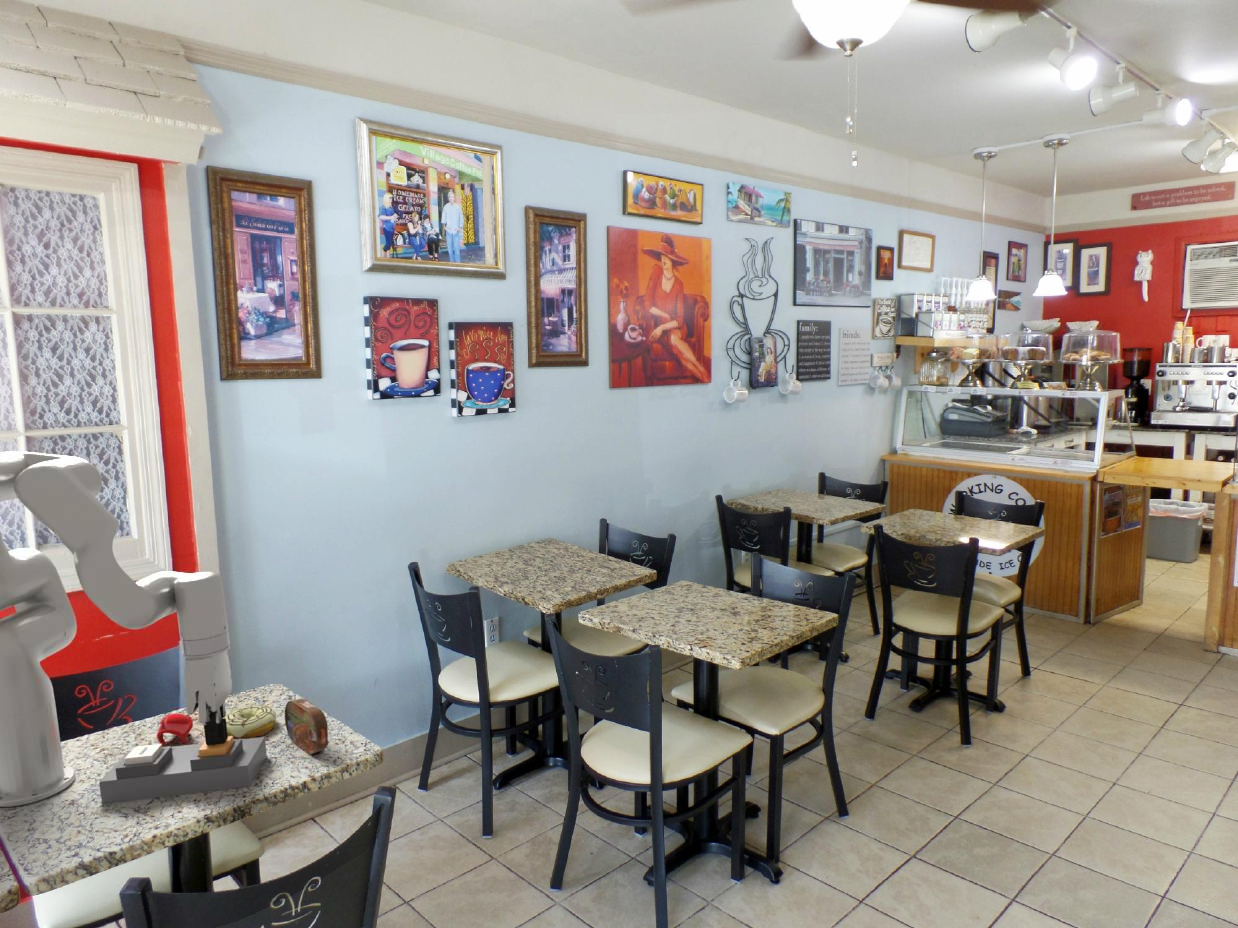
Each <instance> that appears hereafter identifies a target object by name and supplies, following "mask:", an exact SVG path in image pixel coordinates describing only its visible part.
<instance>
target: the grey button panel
mask: <svg viewBox="0 0 1238 928" xmlns="http://www.w3.org/2000/svg"><path fill="white" fill-rule="evenodd" d="M233 741H234V745H233V746H232V748H231V749H230V751H229V752H228V754H224V755H215V756H206V757H199V751H198V750H199V749H200V747H201V746H202V745H203V743H195V744H194V743H193V744H184V745H178V746H177V745H176V746H170V745H169V746H168V745H167V746H162V749H163V752H162V753H161V754H160V755H159V756H158V758H157V759H156V760H155V761H154V762H150V763H141V764H132V765H125V759H124V758H125V757H126V756H127V755H128V754H129V753H130V752H131V751H132V750H130V751H126V753H124V755H123V756H122V757H121V758H119V760H118V761H117V762H116V763H115V765H113V766H112V768H111V769H110V770H108V772H107V773H106V774H105V775H104V776H103V777H102V778H101V779H100V781H98V782H99V792H100V799H101V804H102V805H103V804H104V805H105V804H111V803H120V802H129V801H130V802H131V801H137V800H147V799H155V798H162V797H163V798H164V797H173V796H182V795H190V794H198V793H207V792H217V791H224V790H225V791H226V790H232V789H234V788H235V789H242V788H243V789H244V788H250V787H251V786H252V784H253V782H254V780H255V779H256V777H257V775H258V773H259V771H260V770H261V768H262V766H263V765H264V763H265V761H266V759H267V758H268V754H267V744H266V737H265V736H262V737H252V738H249V739H238V738H237V739H233ZM235 789H234V790H235Z"/></svg>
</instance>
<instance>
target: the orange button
mask: <svg viewBox="0 0 1238 928" xmlns="http://www.w3.org/2000/svg"><path fill="white" fill-rule="evenodd" d="M233 740H234V739H233V736H228V739H227V740H226V742H225V743H224V744H217V745H216V744H214V745H206V740H204V742H202V744H203V745H202V746H201V747H200V749H199V750H198V751H199V757H206V756H215V755H224V754H228V752H229V751H230V749H231V748H232V746H233V745H234V741H233Z"/></svg>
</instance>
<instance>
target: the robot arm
mask: <svg viewBox="0 0 1238 928" xmlns="http://www.w3.org/2000/svg"><path fill="white" fill-rule="evenodd" d="M102 488H103V479H102V475H101V473H100V471H99V470H98V468H97V467H96V466H95V465H94V464H93V463H92V462H90V461H88V460H86V459H84V458H81V457H77V456H70V455H61V454H49V453H47V454H46V453H41V452H40V453H39V452H29V451H18V450H16V451H13V450H12V451H2V452H0V502H5V501H9V500H14V499H18V501H19V502H21V504H22V505H23V506H24V507H25V508H26V509H28V511H29V512H30V513H31V514H32V515H33V516H34V517H35V518H36V519H37V520H38V521H39V522H40V523H42V525H43V526H44V527H45V528H46V529H48V531H50V533H52V534H53V535H54V537H56V538H57V540H59V542H61V543H62V545H64V546H65V547H66V548H67V549H68V550H69V552H71V555H72V556H73V558H74V559H73V561H74V567H75V572H76V575H77V578H78V581H79V585H80V586H81V588H82V590H83V592H84V594H85V595H86V596H87V598H88V599H89V600H90V601H91V602H92V603H93V604H94V606H96V607H97V608H98V609H99V610H100V611H101V612H102V613H103V614H105V616H106V617H107V618H109V619H110V620H111V621H113V622H114V623H116V624H117V625H119V626H121V627H122V628H125V629H129V630H140V629H143V628H147V627H149V626H151V625H153V624H154V623H156V622H157V621H159V620H162V619H163V618H164V617H167V616H169V615H172V614H174V613H176V615H177V623H178V624H177V625H178V630H179V631H178V632H179V638H180V647H181V657H182V658H183V659H184V664H183V665H184V666H183V667H184V668H183V672H184V673H183V675H184V676H183V682H184V683H183V684H184V698H185V710H186V713H187V714H188V715H189V716H191V715H193V714H194V713H195V712H196V711H197V709H198V722H199V723H201V724H202V725H203V731H204V738H205V739H204V741H206V745H214V744H216V745H217V744H224V743H225V742H226V740H227V739H228V734H227V725H226V718H225V716H226V714H227V712H226V700H227V699H228V698H229V696H230V695H231V693H232V690H233V682H232V681H233V678H232V670H231V665H230V660H229V659H230V658H229V654H228V650H230V648H231V643H230V634H229V625H228V618H227V617H228V615H227V607H226V599H225V590H224V583H223V578H222V576H221V575H220V574H219V573H217V572H214V571H199V572H193V573H188V572H181V571H179V572H178V571H171V570H169V571H167V570H165V571H164V570H163V571H158V572H156V573H153V574H150V575H148V576H146V577H144V578H141V579H140V580H137V581H134V579H132V577H131V576H129V575H128V574H127V573H126V572H125V570H124V569H123V568H122V567H121V565H120V564H119V563H118V561H117V559H116V558H115V554H114V549H113V543H114V539H115V537H116V535H117V534H118V532H119V529H120V521H119V520H118V518H117V517H116V516H115V515H114V514H113V513H112V512H111V511H110V510H109V509H108V508H107V507H105V506H104V505H103V504H102V503H101V502H100V501H99V500H98V499H97V496H98V495H99V493H100V492H101V490H102ZM72 606H73V605H71V602H70V599H69V597H68V595H67V592H66V589H65V586H64V584H63V582H62V579H61V577H60V574H59V572H58V569H57V567H56V565H55V564H54V563H53V561H52V560H51V559H50V558H49V557H48V556H47V555H46V554H44V553H43V552H41V551H40V550H37V549H34V548H30V547H21V548H20V547H19V548H15V549H11V550H8V548H7V546H6V544H5V542H4V540H3V536H2V533H1V532H0V612H1V611H3V610H7V609H8V608H12V607H14V609H15V611H16V612H14V613H12V614H9V615H8V616H5V617H3V618H0V807H1V808H3V807H4V808H6V807H7V808H8V807H9V808H10V807H17V806H24V805H29V804H31V803H36V802H38V801H39V802H40V801H42V800H45V799H47V798H49V797H52V796H54V795H55V794H58V793H60V792H62V791H63V790H64V789H66V788H68V787H69V786H70V785H71V784H72V783H73V782H74V781H75V779H76V770H75V768H74V767H71V766H70V765H65V764H64V758H63V751H62V750H63V749H62V742H61V737H60V729H59V728H60V727H59V722H58V721H59V720H58V715H57V706H56V700H55V694H54V687H53V684H52V681H51V679H50V677H49V676H48V674H47V673H46V672H45V671H44V669H43V667H42V665H41V663H40V662H41V661H43V660H45V659H46V658H48V657H50V656H52V655H54V654H55V653H57V652H59V651H61V650H63V649H64V648H66V647H67V646H69V645H70V644H71V643H72V641H73V640H74V638H75V637H76V635H77V628H78V624H77V618H76V615H75V612H74V610H73V607H72ZM222 718H224V719H222Z"/></svg>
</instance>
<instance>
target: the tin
mask: <svg viewBox="0 0 1238 928" xmlns="http://www.w3.org/2000/svg"><path fill="white" fill-rule="evenodd" d="M284 723H285V728H286V731H287V734H288V735H287V736H288V737H289V739H290V741H291V742H292V743H293V744H294V745H296V746H297V747H299V748H300V749H302V751H304V752H305V753H307V754H308V755H315V754H317V753H319V752H322V751H324V750H326V748H327V747H328V744H329V736H328V735H329V734H328V733H329V732H328V731H329V730H328V726H329V725H328V721H327V718H326V716H325V713H324V712H323V711H322V709H320V708H319V707H318V706H316V705H315V704H313V703H312V702H309V701H308V700H307V699H304V698H298V699H294V700H288V701H287V703H286V705H285V707H284Z"/></svg>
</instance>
